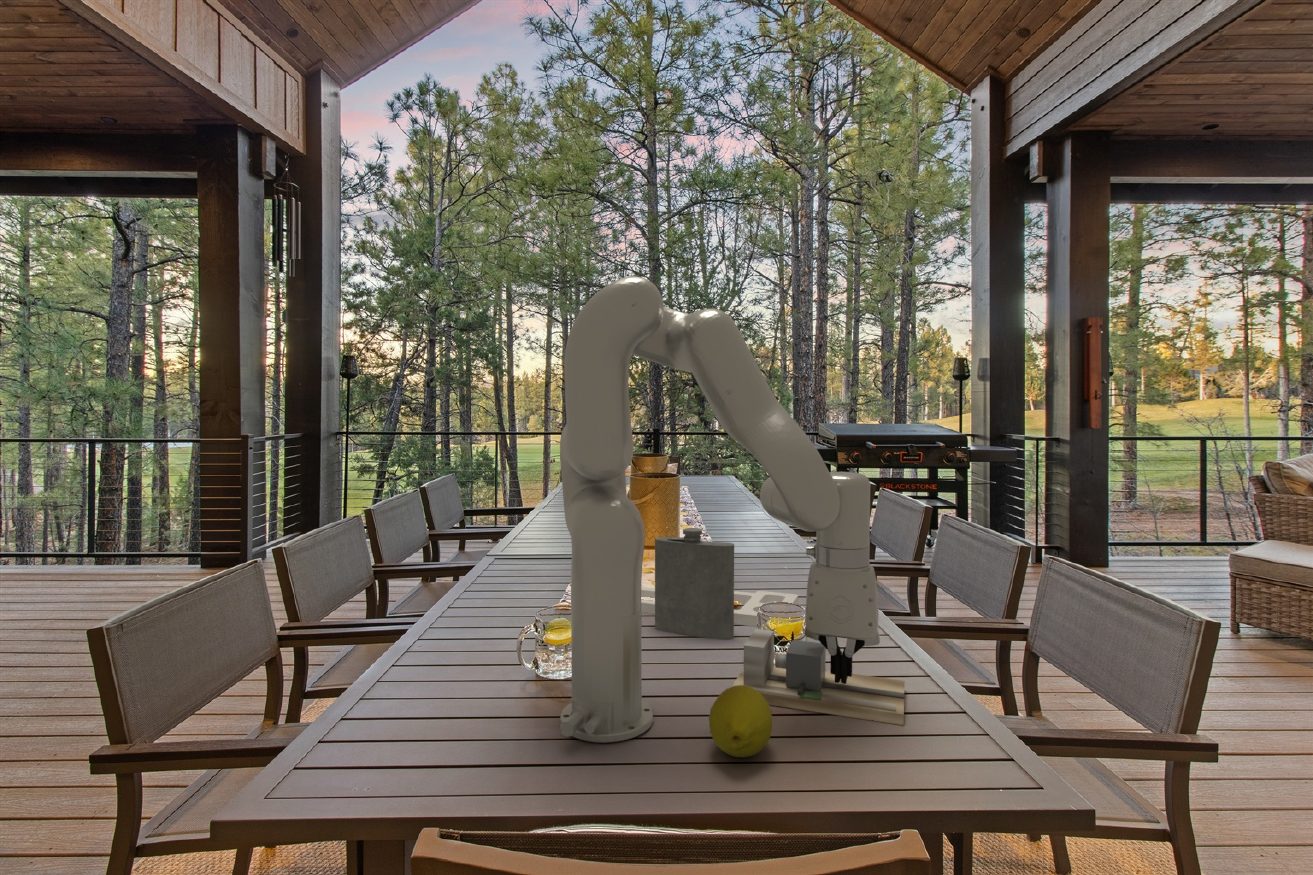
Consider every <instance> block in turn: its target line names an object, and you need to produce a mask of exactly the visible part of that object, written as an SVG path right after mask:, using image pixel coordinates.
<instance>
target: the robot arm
mask: <svg viewBox="0 0 1313 875" xmlns="http://www.w3.org/2000/svg"><path fill="white" fill-rule="evenodd" d="M566 341H567V342H566V345H565V351H564V392H565V393H564V399H565V400H564V401H565V414H566V415H565V419H566V421H565V422H566V424H565V426H564V427H563V429H562V431H561V434H560V440H559V455H560V456H559V457H560V458H559V459H560V471H561V472H560V473H561V485H562V486H561V487H562V496H563V498H562V499H563V511H564V521H565V524H566V527H567V530H568V534H569V536H570V538H571V568H570V569H571V571H570V572H571V573H570V613H571V614H570V616H571V618H570V621H571V623H570V626H571V627H570V628H571V629H570V630H571V634H570V637H571V645H570V646H571V648H570V649H571V702H570V703H569V704H567V705H566V706H565V707H564V708H562V711H561V712H560V717H559V718H560V720H559V721H560V726H559V730H560V733H561V735H563V736H564V737H567V738H568V737H573V738H575V739H577V740H581V741H583V742H584V741H586V742H592V743H603V744H604V743H615V742H617V743H618V742H622V741H623V742H624V741H625V740H627V741H628V740H631V739H634V738H636V737H638V736H640V735H642V734H644V733H645V732H646V731H648V730H649V729H650V727H652V724H653V721H654V712H653V709H652V707H651V706H650V705H649V704H648V703H647V702H645V701H644V700H642V698H643V696H642V695H643V694H642V687H643V686H642V683H643V682H642V672H643V671H642V664H643V663H642V661H643V660H642V653H643V652H642V623H643V622H642V621H643V620H642V614H643V613H641V587H642V576H643V562H644V555H645V554H644V553H645V542H646V541H645V540H646V536H645V535H646V533H645V525H644V521H643V517H642V515H641V512H640V511H639V509H638V507H637V506H636V504H635V503H634V502H633V501H632V500H631V499H630V498H629V497H628V492H627V479H626V477H627V476H626V471H627V469H628V468H629V466H630V464H631V462H632V460H633V454H634V444H635V443H634V437H633V429H632V422H631V421H632V420H631V410H630V409H631V406H630V395H629V394H630V393H629V390H630V389H629V373H630V372H629V370H630V369H629V368H630V362H631V358H632V356H635V357H638V358H641V359H644V360H648V361H650V362H653V363H656V364H658V365H661V366H665V367H668V368H672V369H675V370H678V371H682V372H683V371H684V372H685V373H686V372H687V373H691V374H692V375H693V378H694V379H695V381H696V382H697V385H698V387H699V388H700V389H701V392H702V393H703V396H704V397H705V399H706V400H707V401H706V402H708V404H709V406H710V408H711V410H712V413H713V414H714V415H715V418H716V419H717V421H718V423H719V425H720V427H721V428H722V429H723V430H724V431H725V432H726V433H727V434H728V436H729V437H730V438H731V439H733V441H735V442H736V443H737V444H739V445H740V446H741V447H742V448H744V449H746V451H748V452H749V453H750V454H751V455H752V456H753V457H754V458H755V459H756V460H757V461H758V462H759V464H760V465H761V467H763V469H764V471H765V472H766V474H768V476H769V477H767V478H766V480H765V481H764V482H763V483H762V486H761V488H760V491H759V500H760V503H761V506H762V509H763V510H764V511H765V512H766V513H767V515H769V516H770V517H772V518H773V519H774V520H777V521H779V522H782V523H785V524H786V525H790V526H792V527H794V528H796V529H799V530H802V531H805V532H809V533H811V532H812V533H813V532H814V533H815V532H816V535H815V536H816V537H815V538H816V544H814V545H812V546H808V545H807V546H806V549H805V550H806V551H805V552H806V555H805V556H811V557H813V559H815V560H814V561H815V562H813V563H811V564H810V567H809V572H808V578H807V585H806V586H807V587H806V596H805V597H806V598H805V599H806V600H805V617H804V618H805V619H804V621H805V623H804V624H805V628H804V636H805V637H806V638H809V639H811V640H814V641H818V642H819V643H821V644H822V645H823V646H824V647H825V648H826V651H827V652H828V654H829V655H830V670H829V671H830V672H831V674H834V675H835V683H839V682H840V680H841V682H842V684H846V682H847V678H848V676H849V677H852V674H853V656H854V655H855V654H857V652H859V651H860V650H861V649H862V648H864V647H871V646H877V645H879V644H880V642H881V637H880V633H879V597H878V596H879V595H878V585H877V584H878V582H877V577H876V572H875V568H874V567H873V566H872V565H870V552H871V551H870V550H871V547H870V540H871V538H870V537H871V534H870V533H871V529H870V528H871V483H870V480H869V477H867V475H865V474H863V473H860V472H854V471H853V472H851V471H831V472H830V471H829V469H828V467H827V465H826V463H825V461H824V459H823V457H822V456H821V454H820V452H819V451H818V449H817V448H816V446H815V445H814V443H813V441H812V440H811V439H810V437H809V436H808V434H806V432H805V431H804V430H803V429H802V428H801V426H799V424H798V423H797V422H796V421H795V420H794V419H793V417H792V416H791V414H789V413H790V412H788V410H786V408H785V407H784V406H782V404H781V403H780V402H779V401H778V399H777V398H776V396H775V394H774V392H773V391H772V389H771V388H770V385H769V384H768V382H767V380H766V378H765V376H764V374H763V372H762V370H761V369H760V367H759V365H758V363H757V360H756V359H755V357H754V355H753V353H752V352H751V349H750V348H749V346H748V344H747V342H746V340H745V339H744V336H743V335H742V333H741V332H740V329H739V327H738V326H737V324H736V323H735V321H734V319H733V318H732V317H731V316H730V315H729V314H728V313H727V312H725V311H723V310H721V309H718V308H704V309H699V310H696V311H694V312H692V313H688V312H687V313H686V312H682V311H678V310H675V309H674V308H673V309H672V308H669V307H667V306H665V305H664V300H663V296H662V294H661V292H660V289H658V287H657V286H656V285H655V284H654V283H653V282H652V281H650V280H649V279H647V278H644V277H642V276H625V277H622V278H619V279H616V280H615V281H613V282H610V283H609V284H607V285H606V286H603V288H602V289H600V290H599V291H598V292H596V293H595V294H593V296H592V297H591V298H589V300H588V301H587V302H585V304H584V305H583V307H582V308H581V309H580V311H579V313H578V314H577V316H576V318H575V320H574V322H573V324H572V326H571V328H570V331H569V333H568V337H567V340H566ZM838 638H840V639H846V644H845V647H844V648H843V650H842V651H841V647H840V646H839V640H838Z"/></svg>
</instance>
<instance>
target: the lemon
mask: <svg viewBox="0 0 1313 875" xmlns="http://www.w3.org/2000/svg"><path fill="white" fill-rule="evenodd" d="M770 706H771V705H769V704H768V702H767V701H766V699H765V698H764V697H763V696H762V695H761V694H760V693H759V692H758V691H756V690H755V689H753V688H751V687H748V686H743V685H739V686H733V687H732V686H730V687H728V688H726V689H725V690H724V691H722V692H721V693H720V694H718V696H717V698H716V699H715V700H714V701H713V703H712V705H711V707H710V710H709V716H708V725H709V726H708V727H709V731H710V734H711V737H712V740H713V741H714V743H715V745H716V747H718V749H719V750H720V751H722V752H724V753H726V754H727V755H728V756H729V755H730V756H731V757H736V758H749V757H752V756H754V755H755V756H756V754H758V753H760V752H761V751H762V750H763V749H764V748H765V746H766V745H767V744H768V742H770V739H771V734H772V730H773V714H772V709H771V707H770Z"/></svg>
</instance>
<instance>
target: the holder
mask: <svg viewBox="0 0 1313 875" xmlns="http://www.w3.org/2000/svg"><path fill="white" fill-rule="evenodd" d="M641 597H650V598H655V587H654V588H653V587H645V586H644V587H643V586H641ZM734 601H738V602H740V603H741V604H742V605H743V606H742V607H741V608H740V609H734V625H740V626H745V627H746V626H747V627H754V628H755V627H756V628H758V627H757V613H758V610H759V608H760V607H761V606H762V605H763V604H765V603H766V602H770V601H782V602H788V603H792V604H797V605H798V606H799V595H798V594H796V593H794V594H793V593H786V592H785V593H783V592H777V591H776V592H775V591H766V590H757V591H756V592H748V591H747V592H746V591H737V590H734ZM741 604H740V605H741ZM641 614H647V615H648V614H649V615H655V601H653V600H644V599H641Z"/></svg>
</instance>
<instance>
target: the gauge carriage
mask: <svg viewBox="0 0 1313 875" xmlns="http://www.w3.org/2000/svg"><path fill="white" fill-rule="evenodd" d="M826 652H827V649H826V648H825V647H824V646H823V645H822V644H821V642H816V641H808V640H799V639H797V640H796V639H792V641H791V643H790V645H789V646H788V648H787V650H786V654H781V653H776V654H775V656H774V664H775V667H776V668H783V669H786V686H788V687H795V688H799V689H798V693H797V695H801V696H802V694H803V691H804V689H809V690H816V691H821V688H822V685H823V682H824V679H825V670H826V666H827V665H826V659H827V658H826V655H827V654H826Z"/></svg>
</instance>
